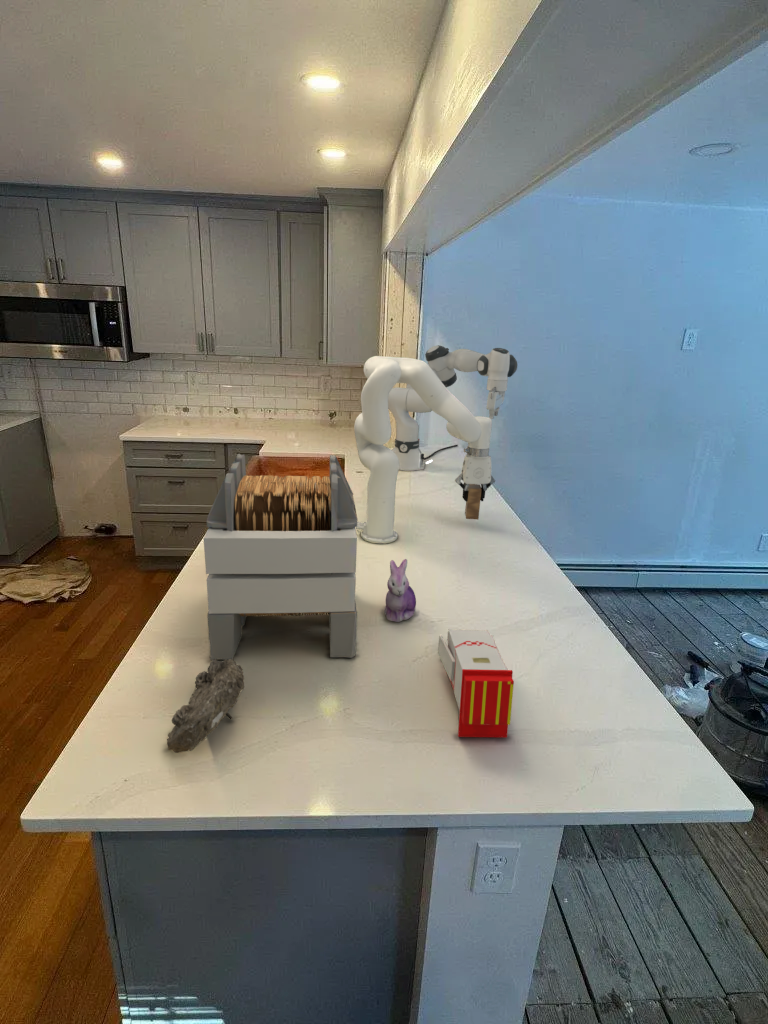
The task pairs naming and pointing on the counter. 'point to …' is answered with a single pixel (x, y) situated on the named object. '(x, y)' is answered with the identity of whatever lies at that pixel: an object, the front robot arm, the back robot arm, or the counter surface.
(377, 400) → the front robot arm
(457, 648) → the toy
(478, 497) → the block
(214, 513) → the grey record storage stand
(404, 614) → the figurine
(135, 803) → the counter surface
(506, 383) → the back robot arm
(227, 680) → the fossil
